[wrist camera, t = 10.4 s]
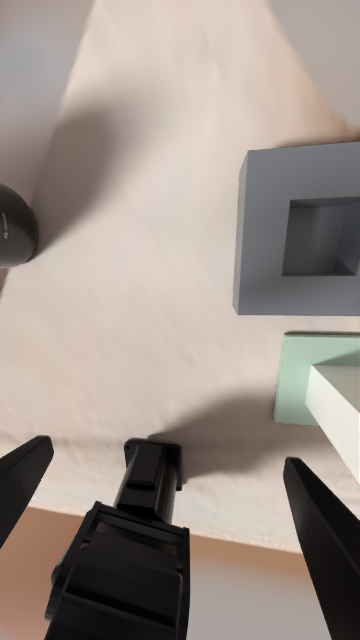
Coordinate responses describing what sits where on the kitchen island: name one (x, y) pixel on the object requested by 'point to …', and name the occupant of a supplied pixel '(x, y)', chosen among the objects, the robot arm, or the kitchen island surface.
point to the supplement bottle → (15, 229)
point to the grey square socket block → (299, 232)
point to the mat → (308, 371)
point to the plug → (337, 409)
